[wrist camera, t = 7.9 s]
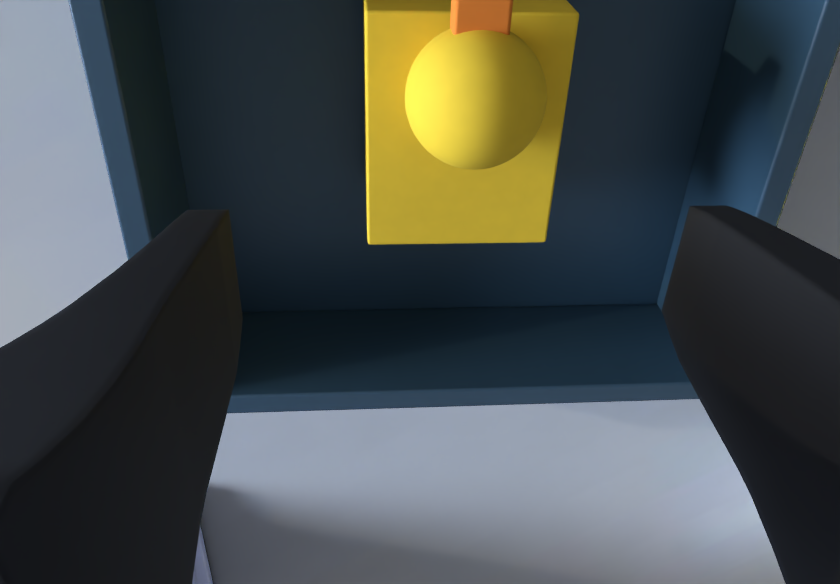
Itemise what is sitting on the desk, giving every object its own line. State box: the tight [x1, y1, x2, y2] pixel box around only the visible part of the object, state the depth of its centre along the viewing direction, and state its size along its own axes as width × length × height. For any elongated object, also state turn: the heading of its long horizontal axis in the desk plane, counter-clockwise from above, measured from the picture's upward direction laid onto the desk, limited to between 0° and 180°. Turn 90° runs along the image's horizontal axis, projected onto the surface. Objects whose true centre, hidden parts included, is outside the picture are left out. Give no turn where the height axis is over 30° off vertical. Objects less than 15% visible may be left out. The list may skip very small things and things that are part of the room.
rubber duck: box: [363, 0, 579, 245], centre depth 15 cm, size 6×4×5 cm, turn 178°
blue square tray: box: [68, 0, 840, 413], centre depth 17 cm, size 14×14×4 cm
